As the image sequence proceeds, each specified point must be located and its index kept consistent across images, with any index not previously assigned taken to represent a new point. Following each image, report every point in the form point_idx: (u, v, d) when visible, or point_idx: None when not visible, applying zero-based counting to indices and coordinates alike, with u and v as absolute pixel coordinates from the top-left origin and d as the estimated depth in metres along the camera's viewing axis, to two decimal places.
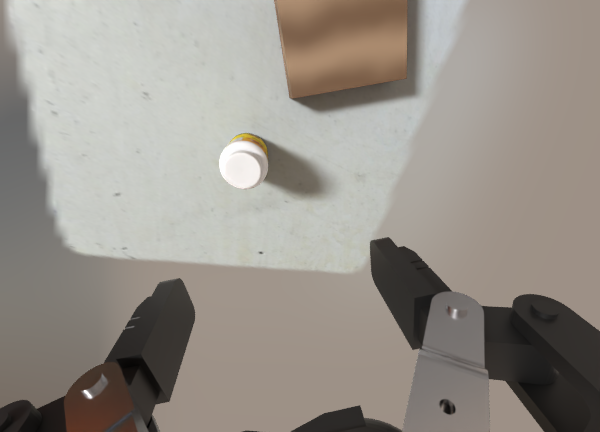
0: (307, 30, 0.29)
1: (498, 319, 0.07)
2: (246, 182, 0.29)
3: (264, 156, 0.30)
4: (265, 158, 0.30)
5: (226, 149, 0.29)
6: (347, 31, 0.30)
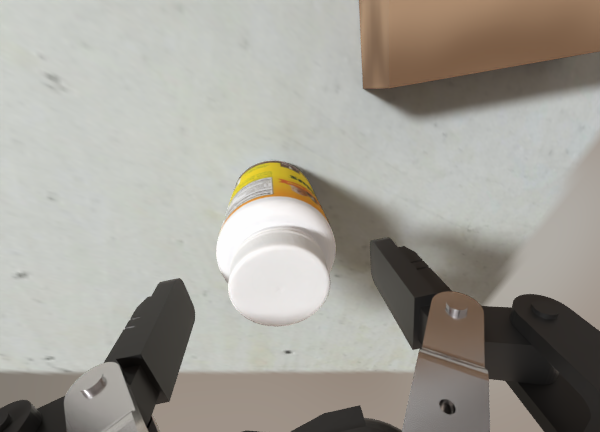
0: None
1: (498, 319, 0.07)
2: (289, 313, 0.11)
3: (330, 234, 0.12)
4: (332, 238, 0.12)
5: (235, 221, 0.11)
6: None
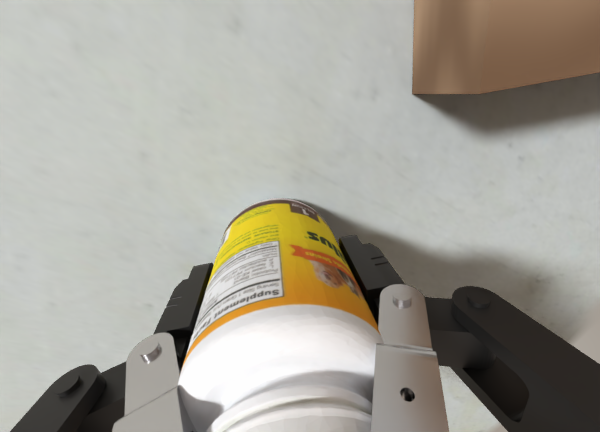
0: None
1: (441, 309, 0.08)
2: None
3: None
4: None
5: (208, 364, 0.06)
6: None
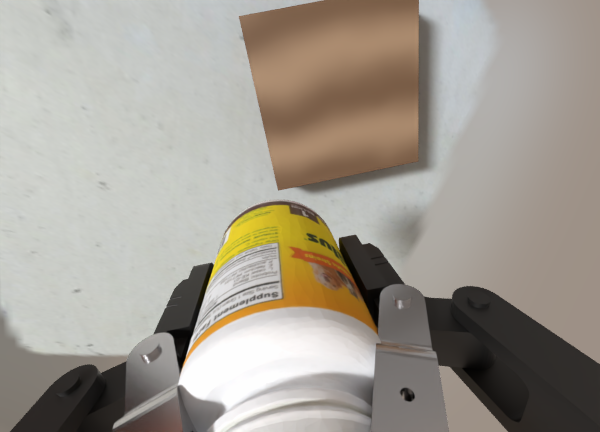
0: (293, 114, 0.23)
1: (441, 309, 0.08)
2: None
3: None
4: None
5: (207, 366, 0.06)
6: (343, 113, 0.24)
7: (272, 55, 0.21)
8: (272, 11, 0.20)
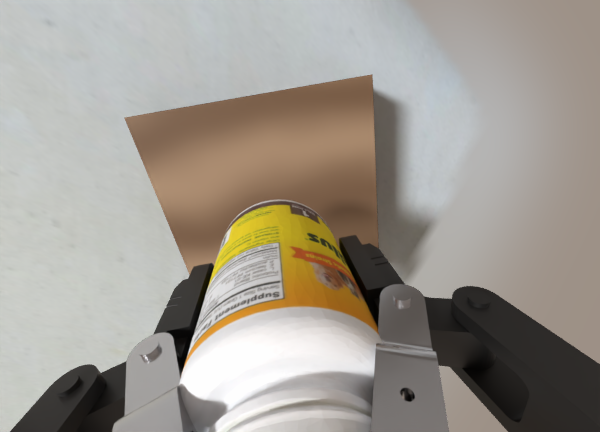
0: (214, 228, 0.18)
1: (441, 309, 0.08)
2: None
3: None
4: None
5: (209, 366, 0.06)
6: None
7: (177, 163, 0.16)
8: (171, 111, 0.15)
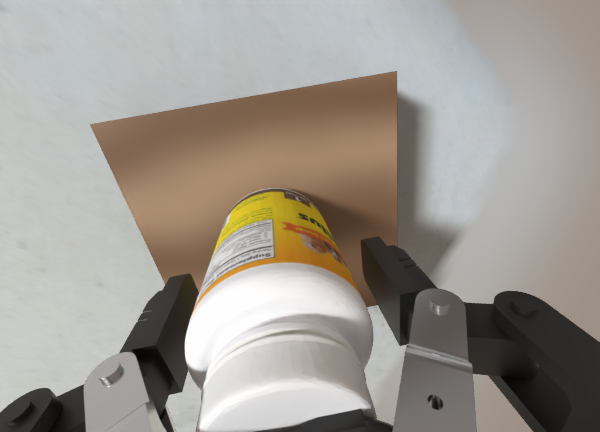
0: (204, 254, 0.15)
1: (480, 315, 0.07)
2: None
3: (367, 320, 0.07)
4: (369, 325, 0.08)
5: (212, 309, 0.07)
6: None
7: (157, 179, 0.13)
8: (148, 116, 0.12)
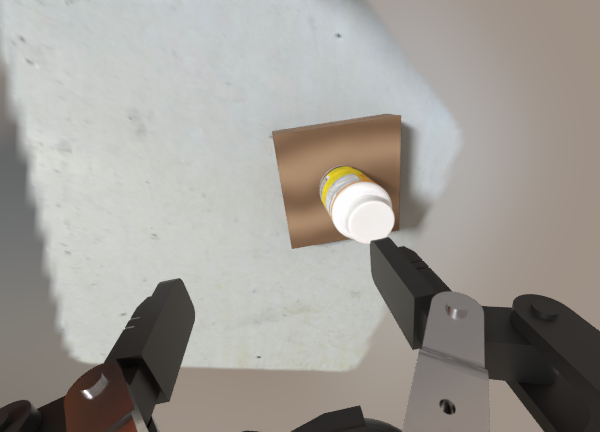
0: (307, 197, 0.31)
1: (498, 319, 0.07)
2: (374, 236, 0.23)
3: (390, 201, 0.24)
4: (391, 203, 0.24)
5: (346, 193, 0.23)
6: None
7: (294, 160, 0.30)
8: (296, 132, 0.28)
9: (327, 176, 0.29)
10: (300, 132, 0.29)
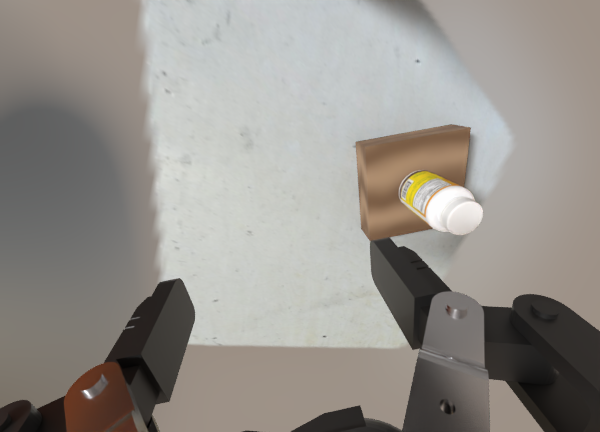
0: (387, 197, 0.37)
1: (498, 319, 0.07)
2: (465, 229, 0.29)
3: (474, 200, 0.30)
4: None
5: (441, 195, 0.29)
6: None
7: (380, 166, 0.35)
8: (384, 144, 0.34)
9: (409, 180, 0.35)
10: (387, 144, 0.34)
